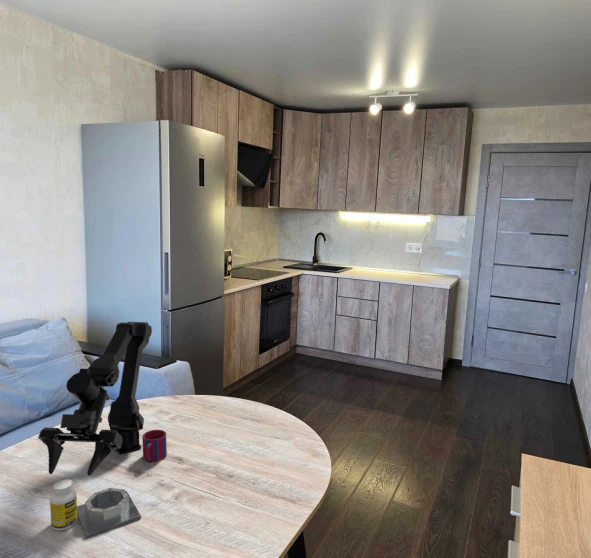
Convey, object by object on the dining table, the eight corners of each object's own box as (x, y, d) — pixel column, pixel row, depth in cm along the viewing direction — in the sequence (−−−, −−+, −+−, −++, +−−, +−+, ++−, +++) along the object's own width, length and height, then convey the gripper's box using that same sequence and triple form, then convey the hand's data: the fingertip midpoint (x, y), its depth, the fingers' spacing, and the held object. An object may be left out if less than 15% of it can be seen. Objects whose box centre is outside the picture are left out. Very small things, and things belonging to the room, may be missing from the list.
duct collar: (126, 493, 119) (126, 479, 118) (140, 518, 109) (140, 503, 108) (75, 509, 112) (74, 495, 111) (86, 538, 102) (85, 522, 102)
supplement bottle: (67, 533, 104) (65, 492, 102) (45, 529, 105) (43, 489, 103) (82, 517, 109) (80, 478, 108) (61, 514, 110) (59, 476, 109)
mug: (170, 451, 140) (169, 430, 139) (155, 469, 130) (155, 446, 129) (149, 450, 141) (148, 428, 140) (133, 467, 131) (132, 444, 130)
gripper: (40, 396, 112) (13, 462, 102) (116, 398, 111) (96, 466, 102) (59, 413, 121) (36, 476, 111) (130, 416, 120) (112, 479, 110)
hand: (69, 474), depth 108 cm, fingers open, 9 cm apart
